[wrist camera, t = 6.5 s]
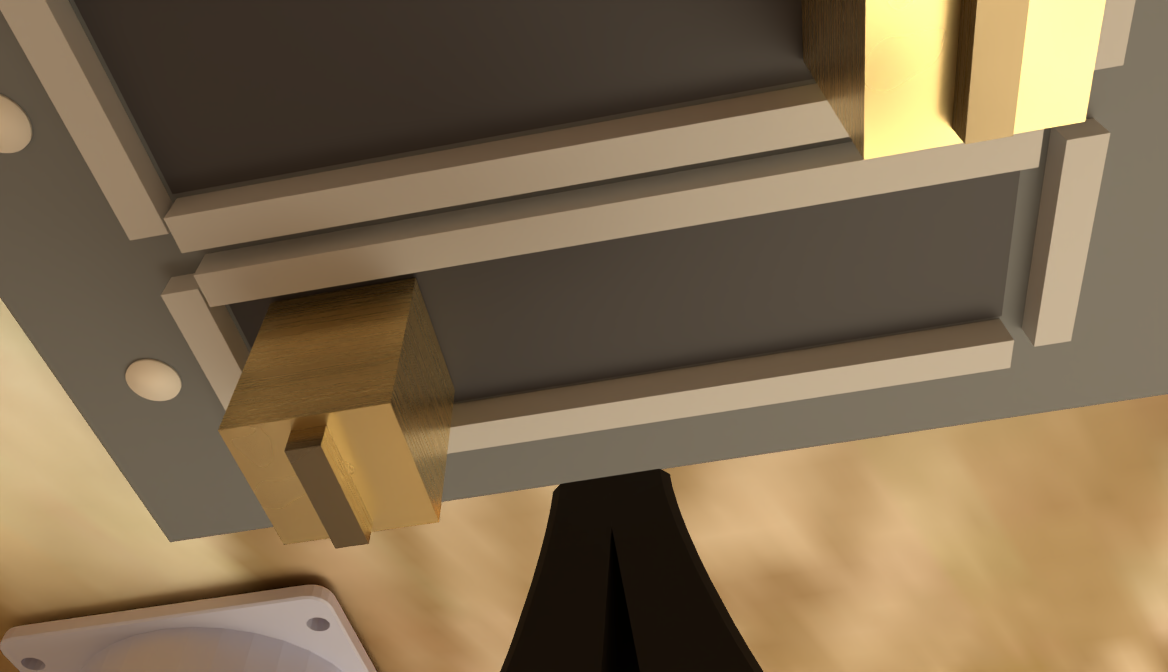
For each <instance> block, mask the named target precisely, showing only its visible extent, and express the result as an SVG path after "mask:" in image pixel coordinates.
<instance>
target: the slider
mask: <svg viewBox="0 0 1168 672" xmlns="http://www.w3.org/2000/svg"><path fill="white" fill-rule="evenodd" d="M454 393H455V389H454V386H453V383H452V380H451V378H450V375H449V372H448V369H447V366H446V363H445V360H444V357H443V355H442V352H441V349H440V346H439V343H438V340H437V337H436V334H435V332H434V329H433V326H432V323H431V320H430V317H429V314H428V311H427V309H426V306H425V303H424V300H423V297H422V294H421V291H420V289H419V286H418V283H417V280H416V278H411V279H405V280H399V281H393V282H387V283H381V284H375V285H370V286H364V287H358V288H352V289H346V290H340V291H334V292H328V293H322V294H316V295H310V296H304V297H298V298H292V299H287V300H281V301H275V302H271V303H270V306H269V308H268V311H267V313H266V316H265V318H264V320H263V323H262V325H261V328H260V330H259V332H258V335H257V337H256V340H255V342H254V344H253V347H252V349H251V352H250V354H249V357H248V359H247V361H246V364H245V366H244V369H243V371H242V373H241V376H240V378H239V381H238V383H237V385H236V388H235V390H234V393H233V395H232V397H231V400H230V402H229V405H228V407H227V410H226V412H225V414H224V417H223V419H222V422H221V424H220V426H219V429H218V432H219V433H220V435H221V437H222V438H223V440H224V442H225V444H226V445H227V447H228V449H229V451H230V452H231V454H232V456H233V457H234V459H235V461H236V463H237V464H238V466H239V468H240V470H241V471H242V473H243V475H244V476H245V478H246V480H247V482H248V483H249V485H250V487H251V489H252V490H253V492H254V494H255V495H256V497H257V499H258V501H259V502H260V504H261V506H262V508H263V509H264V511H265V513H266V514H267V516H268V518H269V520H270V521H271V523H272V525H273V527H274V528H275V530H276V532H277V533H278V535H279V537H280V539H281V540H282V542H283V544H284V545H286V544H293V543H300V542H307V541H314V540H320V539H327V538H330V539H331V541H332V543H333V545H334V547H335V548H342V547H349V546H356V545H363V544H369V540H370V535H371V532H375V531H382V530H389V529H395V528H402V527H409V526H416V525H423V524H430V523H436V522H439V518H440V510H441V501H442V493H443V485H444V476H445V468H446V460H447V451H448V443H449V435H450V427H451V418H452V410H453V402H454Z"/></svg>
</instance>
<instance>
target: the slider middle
mask: <svg viewBox="0 0 1168 672" xmlns="http://www.w3.org/2000/svg"><path fill="white" fill-rule="evenodd" d="M1105 2H1106V0H801V4H802V37H803V62H804V63H805V65H806V67H807V68H808V70H809V71H810V73H811V75H812V76H813V78H814V80H815V81H816V83H817V84H818V86H819V88H820V89H821V91H822V93H823V94H824V96H825V97H826V99H827V101H828V102H829V104H830V106H831V107H832V109H833V110H834V112H835V114H836V115H837V117H838V119H839V120H840V122H841V123H842V125H843V127H844V128H845V130H846V132H847V133H848V135H849V137H850V138H851V140H852V141H853V143H854V145H855V146H856V148H857V150H858V151H859V153H860V154H861V156H862V158H863V159H864V160H866V159H871V158H877V157H883V156H889V155H895V154H900V153H906V152H912V151H918V150H924V149H929V148H935V147H941V146H947V145H953V144H958V143H964V144H970V143H976V142H982V141H987V140H993V139H999V138H1005V137H1011V136H1013V135H1014V134H1016V133H1022V132H1028V131H1034V130H1040V129H1045V128H1051V127H1057V126H1063V125H1069V124H1074V123H1080V122H1085V119H1086V114H1087V108H1088V102H1089V96H1090V90H1091V84H1092V78H1093V72H1094V67H1095V61H1096V55H1097V49H1098V43H1099V37H1100V31H1101V25H1102V20H1103V14H1104V8H1105Z"/></svg>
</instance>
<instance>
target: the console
mask: <svg viewBox="0 0 1168 672" xmlns="http://www.w3.org/2000/svg"><path fill="white" fill-rule="evenodd" d="M411 278H416V280H417V283H418V286H419V289H420V291H421V294H422V297H423V300H424V303H425V306H426V309H427V311H428V314H429V317H430V320H431V323H432V326H433V329H434V332H435V334H436V337H437V340H438V343H439V346H440V349H441V352H442V355H443V357H444V360H445V363H446V366H447V369H448V372H449V375H450V378H451V380H452V383H453V386H454V389H455V393H454V402H453V410H452V418H451V427H450V435H449V443H448V451H447V460H446V468H445V476H444V485H443V493H442V501H441V502H444V501H450V500H457V499H464V498H471V497H477V496H484V495H491V494H498V493H504V492H511V491H518V490H525V489H531V488H538V487H545V486H551V485H558V484H562V483H569V482H575V481H582V480H588V479H595V478H601V477H608V476H614V475H621V474H627V473H634V472H640V471H647V470H654V469H666V468H673V467H680V466H686V465H693V464H700V463H706V462H713V461H720V460H727V459H733V458H740V457H747V456H754V455H760V454H767V453H774V452H781V451H787V450H794V449H801V448H808V447H814V446H821V445H828V444H835V443H841V442H848V441H855V440H861V439H868V438H875V437H882V436H888V435H895V434H902V433H909V432H915V431H922V430H929V429H936V428H942V427H949V426H956V425H963V424H969V423H976V422H983V421H990V420H996V419H1003V418H1010V417H1016V416H1023V415H1030V414H1037V413H1043V412H1050V411H1057V410H1064V409H1070V408H1077V407H1084V406H1091V405H1097V404H1104V403H1111V402H1118V401H1124V400H1131V399H1138V398H1145V397H1151V396H1158V395H1165V394H1168V0H1106V2H1105V8H1104V14H1103V20H1102V25H1101V31H1100V37H1099V43H1098V49H1097V55H1096V61H1095V67H1094V72H1093V78H1092V84H1091V90H1090V96H1089V102H1088V108H1087V114H1086V119H1085V122H1080V123H1074V124H1069V125H1063V126H1057V127H1051V128H1045V129H1040V130H1034V131H1028V132H1022V133H1016V134H1014V135H1013V136H1011V137H1005V138H999V139H993V140H987V141H982V142H976V143H970V144H964V143H958V144H953V145H947V146H941V147H935V148H929V149H924V150H918V151H912V152H906V153H900V154H895V155H889V156H883V157H877V158H871V159H866V160H864V159H863V158H862V156H861V154H860V153H859V151H858V150H857V148H856V146H855V145H854V143H853V141H852V140H851V138H850V137H849V135H848V133H847V132H846V130H845V128H844V127H843V125H842V123H841V122H840V120H839V119H838V117H837V115H836V114H835V112H834V110H833V109H832V107H831V106H830V104H829V102H828V101H827V99H826V97H825V96H824V94H823V93H822V91H821V89H820V88H819V86H818V84H817V83H816V81H815V80H814V78H813V76H812V75H811V73H810V71H809V70H808V68H807V67H806V65H805V63H804V62H803V37H802V4H801V0H0V298H1V299H2V301H3V302H4V304H5V305H6V306H7V308H8V309H9V311H10V312H11V314H12V315H13V317H14V318H15V319H16V321H17V322H18V324H19V325H20V327H21V328H22V329H23V331H24V332H25V334H26V335H27V337H28V338H29V340H30V341H31V342H32V344H33V345H34V347H35V348H36V350H37V351H38V353H39V354H40V355H41V357H42V358H43V360H44V361H45V363H46V364H47V366H48V367H49V368H50V370H51V371H52V373H53V374H54V376H55V377H56V378H57V380H58V381H59V383H60V384H61V386H62V387H63V389H64V390H65V391H66V393H67V394H68V396H69V397H70V399H71V400H72V402H73V403H74V404H75V406H76V407H77V409H78V410H79V412H80V413H81V415H82V416H83V417H84V419H85V420H86V422H87V423H88V425H89V426H90V427H91V429H92V430H93V432H94V433H95V435H96V436H97V438H98V439H99V440H100V442H101V443H102V445H103V446H104V448H105V449H106V451H107V452H108V453H109V455H110V456H111V458H112V459H113V461H114V462H115V463H116V465H117V466H118V468H119V469H120V471H121V472H122V474H123V475H124V476H125V478H126V479H127V481H128V482H129V484H130V485H131V487H132V488H133V489H134V491H135V492H136V494H137V495H138V497H139V498H140V500H141V501H142V502H143V504H144V505H145V507H146V508H147V510H148V511H149V512H150V514H151V515H152V517H153V518H154V520H155V521H156V523H157V524H158V525H159V527H160V528H161V530H162V531H163V533H164V534H165V536H166V537H167V538H168V540H169V541H170V542H174V541H181V540H188V539H194V538H201V537H208V536H214V535H221V534H228V533H235V532H241V531H248V530H255V529H262V528H268V527H273V525H272V523H271V521H270V520H269V518H268V516H267V514H266V513H265V511H264V509H263V508H262V506H261V504H260V502H259V501H258V499H257V497H256V495H255V494H254V492H253V490H252V489H251V487H250V485H249V483H248V482H247V480H246V478H245V476H244V475H243V473H242V471H241V470H240V468H239V466H238V464H237V463H236V461H235V459H234V457H233V456H232V454H231V452H230V451H229V449H228V447H227V445H226V444H225V442H224V440H223V438H222V437H221V435H220V433H219V432H218V429H219V426H220V424H221V422H222V419H223V417H224V414H225V412H226V410H227V407H228V405H229V402H230V400H231V397H232V395H233V393H234V390H235V388H236V385H237V383H238V381H239V378H240V376H241V373H242V371H243V369H244V366H245V364H246V361H247V359H248V357H249V354H250V352H251V349H252V347H253V344H254V342H255V340H256V337H257V335H258V332H259V330H260V328H261V325H262V323H263V320H264V318H265V316H266V313H267V311H268V308H269V306H270V303H271V302H275V301H281V300H287V299H292V298H298V297H304V296H310V295H316V294H322V293H328V292H334V291H340V290H346V289H352V288H358V287H364V286H370V285H375V284H381V283H387V282H393V281H399V280H405V279H411Z"/></svg>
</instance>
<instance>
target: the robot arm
mask: <svg viewBox="0 0 1168 672" xmlns="http://www.w3.org/2000/svg"><path fill="white" fill-rule="evenodd" d="M0 650H1V651H2V653H3V655H4V656H5V657H6V658H7V659H8V660H9V661H10V662H11V663H12V664H13V665H14V666H15V667H16V668H17V669H18V670H19V671H20V672H377V671H376V669H375V667H374V666H373V664H372V662H371V660H370V658H369V657H368V655H367V653H366V651H365V649H364V648H363V646H362V644H361V642H360V640H359V639H358V637H357V635H356V633H355V631H354V630H353V628H352V626H351V624H350V622H349V621H348V619H347V617H346V615H345V613H344V612H343V610H342V608H341V606H340V604H339V603H338V601H337V599H336V597H335V596H334V594H333V593H332V592H331V591H330V590H329V589H327V588H325V587H323V586H319V585H301V586H294V587H287V588H280V589H273V590H266V591H259V592H252V593H245V594H238V595H231V596H224V597H217V598H210V599H203V600H196V601H189V602H182V603H175V604H168V605H161V606H154V607H147V608H140V609H133V610H126V611H119V612H112V613H105V614H98V615H91V616H84V617H77V618H70V619H63V620H56V621H49V622H42V623H35V624H28V625H21V626H16V627H13V628H10V629H9V630H8V631H7V632H6V633H5V635H4V637H3V638H2V640H1V642H0ZM500 672H763V670H762V669H761V667H760V665H759V664H758V662H757V661H756V659H755V657H754V656H753V654H752V653H751V651H750V649H749V648H748V646H747V644H746V643H745V641H744V639H743V638H742V636H741V634H740V632H739V631H738V629H737V627H736V626H735V624H734V622H733V620H732V618H731V617H730V615H729V613H728V611H727V609H726V607H725V606H724V604H723V602H722V600H721V598H720V596H719V594H718V593H717V591H716V589H715V587H714V585H713V583H712V582H711V580H710V578H709V576H708V574H707V572H706V570H705V568H704V566H703V564H702V562H701V559H700V557H699V555H698V553H697V551H696V548H695V546H694V544H693V542H692V539H691V537H690V535H689V533H688V530H687V528H686V525H685V523H684V520H683V518H682V515H681V512H680V510H679V507H678V504H677V501H676V497H675V494H674V491H673V487H672V483H671V478H670V474H669V473H667V472H665V471H663V470H661V469H654V470H647V471H640V472H634V473H627V474H621V475H614V476H608V477H601V478H595V479H588V480H582V481H575V482H569V483H562V484H560V485H559V486H558V487H557V488H556V489H555V490H554V491H553V497H552V503H551V509H550V514H549V519H548V523H547V528H546V532H545V536H544V540H543V544H542V548H541V552H540V556H539V559H538V562H537V566H536V569H535V573H534V576H533V580H532V583H531V586H530V589H529V592H528V595H527V598H526V601H525V604H524V607H523V610H522V613H521V616H520V619H519V622H518V625H517V628H516V631H515V634H514V637H513V640H512V643H511V645H510V648H509V651H508V654H507V656H506V659H505V661H504V664H503V666H502V669H501V671H500Z"/></svg>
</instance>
